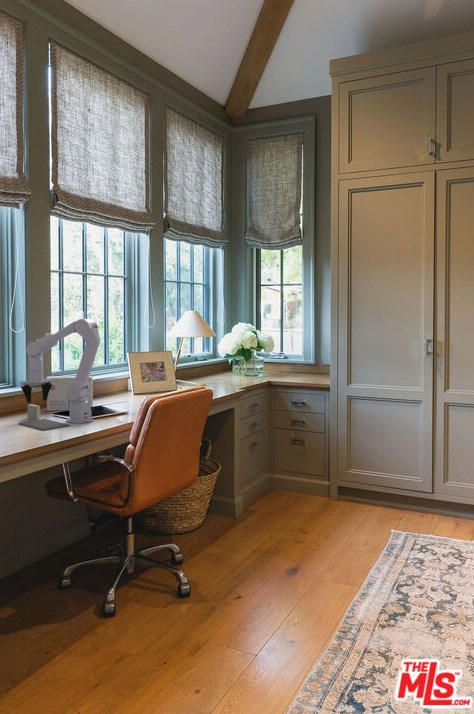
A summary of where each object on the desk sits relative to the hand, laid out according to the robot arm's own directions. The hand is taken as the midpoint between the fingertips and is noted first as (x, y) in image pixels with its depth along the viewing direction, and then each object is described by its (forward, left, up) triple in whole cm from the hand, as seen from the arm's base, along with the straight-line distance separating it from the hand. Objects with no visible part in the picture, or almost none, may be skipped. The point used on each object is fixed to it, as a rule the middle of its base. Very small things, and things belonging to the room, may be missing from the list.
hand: (37, 401), depth 261 cm
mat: (-13, +4, -8) cm, 16 cm away
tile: (+3, 0, -8) cm, 9 cm away
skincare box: (+12, -24, -8) cm, 28 cm away
